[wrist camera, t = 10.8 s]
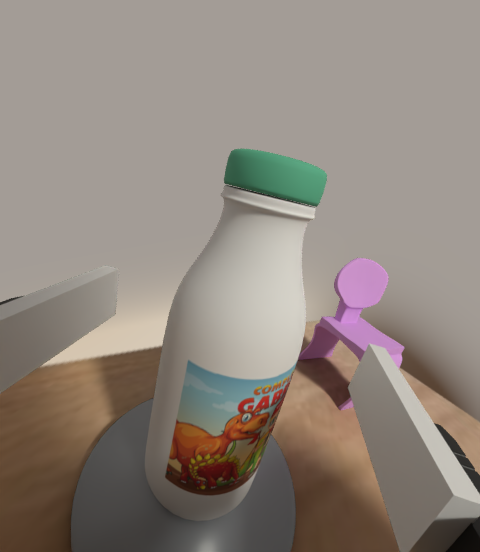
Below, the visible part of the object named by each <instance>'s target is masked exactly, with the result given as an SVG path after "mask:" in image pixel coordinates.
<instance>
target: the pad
mask: <svg viewBox="0 0 480 552" xmlns="http://www.w3.org/2000/svg"><path fill="white" fill-rule="evenodd" d="M153 399H154V398H152V399H150V400H148V401H146V402H143V403H141V404H139V405H138V406H136V407H135V408H133V409H131V410H130V411H128V412H127V413H126V414H124V415H123V416H122V417H121V418H119V419H118V420H117V421H116V422H115V423H114V424H113V425H112V426H111V427H110V428H109V429H108V430H107V431H106V433H105V434H104V435H103V436H102V437H101V438H100V440H99V441H98V443H97V444H96V446H95V447H94V449H93V450H92V452H91V454H90V456H89V458H88V459H87V461H86V463H85V465H84V468H83V470H82V473H81V475H80V478H79V481H78V484H77V488H76V492H75V496H74V499H73V507H72V515H71V551H72V552H291V548H292V544H293V539H294V531H295V521H296V505H295V494H294V488H293V483H292V478H291V475H290V471H289V468H288V465H287V462H286V460H285V458H284V455H283V453H282V451H281V449H280V448H279V446H278V444H277V442H276V441H275V439H274V438H273V436H272V435H271V436H270V438H269V441H268V444H267V446H266V449H265V452H264V454H263V457H262V459H261V462H260V465H259V467H258V470H257V472H256V475H255V477H254V480H253V482H252V484H251V487H250V489H249V491H248V493H247V494H246V496H245V497H244V499H243V500H242V501H241V502H240V504H239V505H238V506H237V507H235V508H234V509H233V510H232V511H230V512H229V513H227V514H225V515H223V516H221V517H218V518H215V519H211V520H204V521H193V520H188V519H183V518H181V517H179V516H177V515H174V514H173V513H171V512H170V511H169V510H168V509H166V508H165V507H164V506H163V505H162V504H161V503H160V502H159V501H158V500H157V498H156V497H155V495H154V494H153V492H152V490H151V488H150V486H149V484H148V481H147V477H146V472H145V453H146V444H147V438H148V431H149V425H150V418H151V412H152V406H153Z"/></svg>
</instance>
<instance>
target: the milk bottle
mask: <svg viewBox="0 0 480 552" xmlns="http://www.w3.org/2000/svg"><path fill="white" fill-rule="evenodd" d="M326 181H327V174H326V173H325V172H324V171H323V170H322V169H320V168H318V167H316V166H314V165H311V164H309V163H306V162H303V161H300V160H296V159H293V158H290V157H286V156H282V155H278V154H273V153H269V152H264V151H258V150H251V149H235V150H233V151H231V153H230V156H229V158H228V162H227V166H226V171H225V177H224V183H225V184H229V185H232V186H228V185H225V186H224V190H223V193H221V196H222V197H223V198H224V208H223V212H222V215H221V218H220V220H219V223H218V225H217V227H216V229H215V231H214V233H213V235H212V237H211V239H210V240H209V242H208V244H207V245H206V247H205V248H204V250H203V251H202V253H201V254H200V255H199V257H198V258H197V260H196V261H195V262H194V264H193V265H192V266H191V268H190V269H189V271H188V272H187V273H186V275H185V276H184V278H183V280H182V282H181V284H180V286H179V287H178V290H177V292H176V294H175V297H174V299H173V303H172V306H171V309H170V312H169V316H168V321H167V326H166V330H165V335H164V340H163V346H162V351H161V357H160V363H159V369H158V375H157V381H156V387H155V393H154V399H153V406H152V412H151V418H150V425H149V431H148V438H147V444H146V453H145V472H146V477H147V481H148V484H149V486H150V488H151V490H152V492H153V494H154V495H155V497H156V498H157V500H158V501H159V502H160V503H161V504H162V505H163V506H164V507H165V508H166V509H168V510H169V511H170V512H171V513H173V514H174V515H177V516H179V517H181V518H183V519H188V520H193V521H204V520H211V519H215V518H218V517H221V516H223V515H225V514H227V513H229V512H230V511H232V510H233V509H234V508H235V507H237V506H238V505H239V504H240V502H241V501H242V500H243V499H244V497H245V496H246V494H247V493H248V491H249V489H250V487H251V484H252V482H253V480H254V477H255V475H256V472H257V470H258V467H259V465H260V462H261V459H262V457H263V454H264V452H265V449H266V446H267V444H268V441H269V438H270V436H271V433H272V430H273V428H274V425H275V422H276V420H277V417H278V414H279V412H280V409H281V406H282V403H283V401H284V398H285V395H286V392H287V390H288V387H289V384H290V381H291V379H292V376H293V373H294V369H295V366H296V363H297V360H298V357H299V354H300V351H301V347H302V342H303V338H304V333H305V324H306V305H305V294H304V288H303V278H302V245H303V236H304V232H305V229H306V226H307V224H308V222H309V221H310V220H313V219H314V218H315V217H314V213H315V210H316V209H315V207H311V206H308V205H312V206H318V204H319V203H320V200H321V197H322V195H323V192H324V188H325V184H326ZM233 186H237V187H240V188H237V187H233ZM241 188H244V189H241ZM246 189H248V190H246ZM250 190H252V191H250ZM254 191H256V192H254ZM258 192H260V193H258ZM262 193H263V194H262ZM266 194H267V195H266ZM270 195H271V196H270ZM274 196H275V197H274ZM278 197H279V198H278ZM282 198H283V199H282ZM286 199H287V200H286ZM289 200H292V201H289ZM293 201H296V202H293ZM297 202H300V203H297ZM301 203H304V204H301ZM305 204H308V205H305Z"/></svg>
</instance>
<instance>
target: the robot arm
mask: <svg viewBox="0 0 480 552" xmlns="http://www.w3.org/2000/svg"><path fill="white" fill-rule="evenodd" d="M118 277H119V269H117V268H114V267H111V266H107V265H105V266H102V267H100V268H97V269H95V270H92V271H89V272H87V273H84V274H81V275H79V276H76V277H73V278H71V279H68V280H65V281H63V282H60V283H58V284H55V285H52V286H50V287H47V288H44V289H42V290H39V291H36V292H34V293H31V294H29V295H26V296H21V297H16V298H11V299H9V300H6V301H3V302H0V393H2V392H3V391H5V390H6V389H8V388H9V387H11V386H12V385H14V384H15V383H16V382H18V381H19V380H21V379H22V378H24V377H25V376H27V375H28V374H30V373H31V372H32V371H34V370H35V369H37V368H38V367H40V366H41V365H43V364H44V363H45V362H47V361H48V360H50V359H51V358H53V357H54V356H55V355H57V354H59V353H60V352H61V351H63V350H64V349H66V348H67V347H69V346H70V345H72V344H73V343H74V342H76V341H77V340H79V339H80V338H82V337H83V336H85V335H86V334H88V333H89V332H91V331H92V330H93V329H95V328H96V327H98V326H99V325H101V324H102V323H104V322H105V321H107V320H108V319H109V318H111V317H112V316H114V315H115V314H116V313H115V312H116V302H117V289H118ZM348 390H349V393H350V396H351V399H352V402H353V405H354V409H355V412H356V415H357V418H358V421H359V424H360V427H361V431H362V434H363V437H364V440H365V443H366V446H367V449H368V453H369V456H370V459H371V462H372V465H373V468H374V472H375V475H376V478H377V481H378V484H379V487H380V490H381V494H382V497H383V500H384V503H385V506H386V509H387V512H388V516H389V519H390V522H391V525H392V528H393V531H394V534H395V538H396V541H397V544H398V547H399V550H400V552H480V475H479V474H478V473H477V472H476V471H475V470H474V469H475V468H474V467H473V465H472V464H471V462H470V461H469V459H468V458H466V457H465V456H466V455H465V454H464V452H463V451H462V449H461V448H460V446H459V445H458V444H457V442H456V441H455V439H454V438H453V437H452V436H451V435H450V434H449V433H448V432H447V431H446V430H445V429H444V428H443V427H442V426H441V425H438V424H435V423H433V421H432V420H431V418H430V417H429V415H428V414H427V412H426V410H425V409H424V407H423V406H422V404H421V403H420V401H419V400H418V398H417V397H416V395H415V393H414V392H413V390H412V389H411V387H410V386H409V384H408V383H407V381H406V380H405V378H404V376H403V375H402V373H401V372H400V370H399V369H398V367H397V366H396V364H395V362H394V361H393V359H392V358H391V356H390V355H389V353H388V352H387V350H386V349H385V348H383V347H380V346H377V345H373V344H370V343H369V344H368V347H367V349H366V351H365V353H364V355H363V357H362V359H361V361H360V363H359V365H358V367H357V369H356V372H355V374H354V376H353V378H352V380H351V382H350V384H349V386H348Z"/></svg>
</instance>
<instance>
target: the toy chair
mask: <svg viewBox="0 0 480 552" xmlns="http://www.w3.org/2000/svg"><path fill="white" fill-rule="evenodd" d="M387 283H388V274H387V273H386V271H385V270H384V269H383V268H382V267H381V266H380V265H379V264H378V263H376V262H374V261H372V260H370V259H364V258H356V259H354V260H352V261H350V262H349V263H348V264H346V265H345V266H344V267H343V268H342V269H341V270H340V272H339V273H338V275H337V276H336V279H335V282H334V288H335V291H336V293H337V295H338V296H339V297H340V301H339V305H338V309H337V312H336V316H335V317H322V318H321V320H320V323H318V324H317V325H316V326H315V330H314V335H313V338H312V340H311V342H310V343H309V345H308V346H307V347H306V348H305V349H304V350H303V351H302V352H301V353H300V354H299V357H298V360H302V359H311V358H321V357H330V356H332V353H333V350H334V348H335V346H336V344H337V342H338V340H339V339H340V340H341V341H342V342H343V343H344V344H345V345H346V346H347V347H348V348H349V349H350V350H351V351H352V352H353V353H354V354H355V355H356V356H357V357H358V359H359V361H361V359H362V357H363V355H364V353H365V351H366V349H367V347H368V344H369V343H370V344H373V345H377V346H380V347H383V348H385V349H386V350H387V352H388V353H389V355H390V356H391V358H392V359H393V361H394V362H395V364H396V366H397V367H398V369H399V367H400V365H401V362H402V356H401V353H402V351H403V349H404V347H403V346H402V345H400V344H399V343H397V342H396V341H395V340H393V339H391V338H389V337H388V336H386V335H384V334H383V333H381V332H380V331H378V330H377V329H375V328H374V327H373V326H372V325H370V324H369V323H368V322H367V321H365V320H364V319H362V318H361V317H359V315H360V313H361V311H362V309H363V308H366V307H369V306H372V305H374V304H377V303H378V302H379V300H380V299H381V297H382V295H383V293H384V291H385V289H386V287H387ZM352 407H354V405H353V402H352V399H351V397H350V398H349V399H348V400H347V401H345V402H344V403H343V404H342V405H340V406H339V407H338V408H339V409H340V410H344V409H348V408H352Z"/></svg>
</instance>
